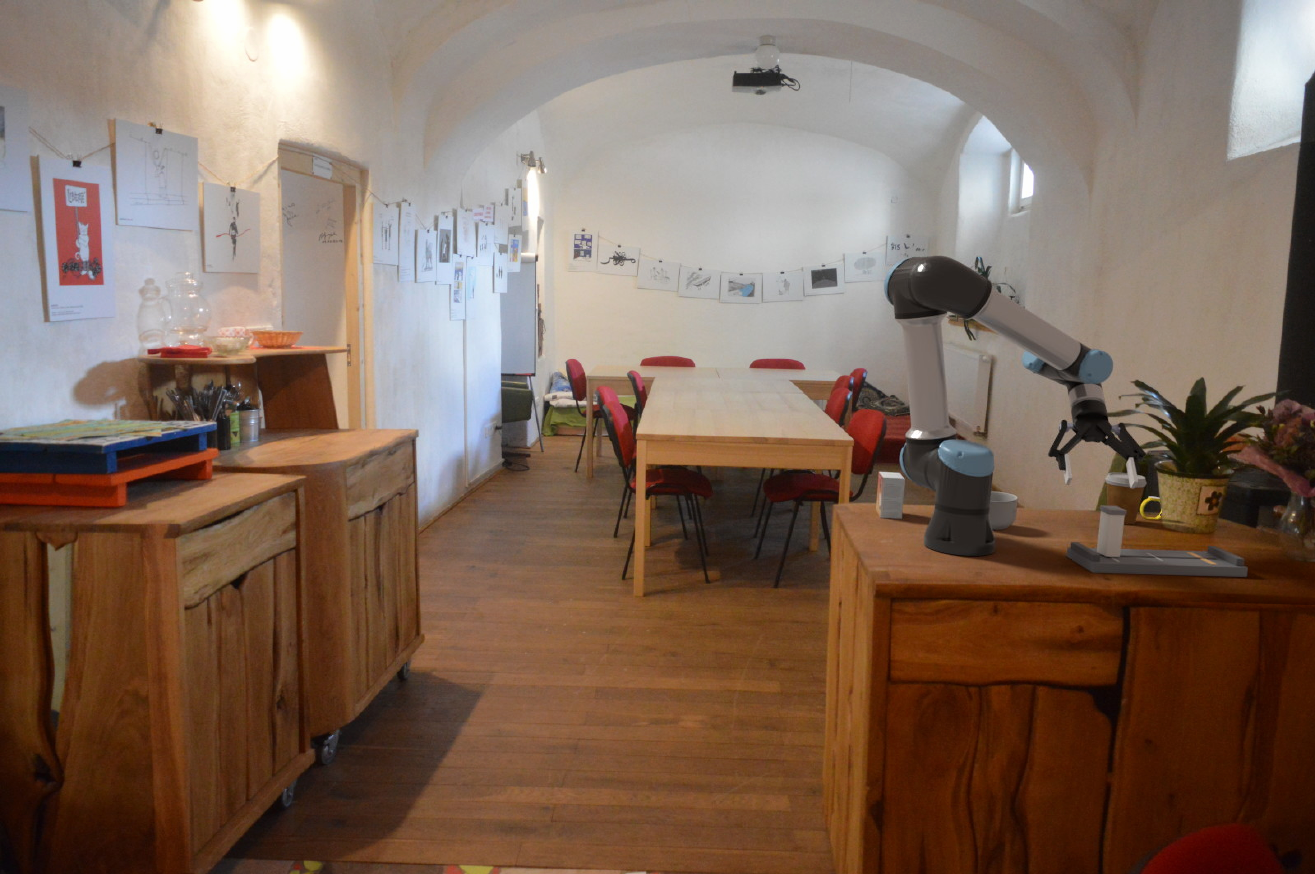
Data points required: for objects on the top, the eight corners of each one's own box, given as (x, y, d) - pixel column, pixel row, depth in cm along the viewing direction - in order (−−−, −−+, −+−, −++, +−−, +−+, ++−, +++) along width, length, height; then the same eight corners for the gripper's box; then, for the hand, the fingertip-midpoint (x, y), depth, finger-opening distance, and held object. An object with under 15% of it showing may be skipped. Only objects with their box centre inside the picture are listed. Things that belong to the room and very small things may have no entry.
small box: (875, 510, 238) (878, 471, 237) (897, 512, 238) (900, 472, 236) (879, 518, 230) (882, 477, 229) (902, 519, 230) (905, 478, 228)
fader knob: (1105, 556, 191) (1110, 510, 190) (1095, 550, 196) (1100, 505, 194) (1121, 557, 191) (1126, 510, 190) (1111, 551, 196) (1116, 505, 194)
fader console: (1092, 572, 188) (1094, 556, 187) (1066, 556, 200) (1067, 540, 199) (1246, 576, 188) (1248, 560, 188) (1211, 560, 200) (1213, 544, 200)
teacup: (1021, 533, 219) (1024, 500, 218) (976, 531, 220) (979, 499, 218) (1001, 519, 233) (1004, 488, 232) (958, 517, 233) (961, 487, 232)
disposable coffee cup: (1138, 519, 238) (1143, 474, 236) (1145, 527, 229) (1150, 480, 227) (1098, 515, 241) (1103, 471, 239) (1103, 523, 232) (1108, 477, 230)
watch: (1159, 519, 240) (1163, 497, 239) (1164, 521, 237) (1169, 499, 236) (1136, 516, 240) (1140, 494, 239) (1142, 519, 237) (1146, 497, 236)
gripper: (1139, 420, 215) (1156, 495, 203) (1028, 415, 219) (1038, 488, 207) (1150, 400, 209) (1168, 477, 197) (1036, 395, 213) (1046, 470, 201)
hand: (1101, 483), depth 202 cm, fingers open, 13 cm apart
